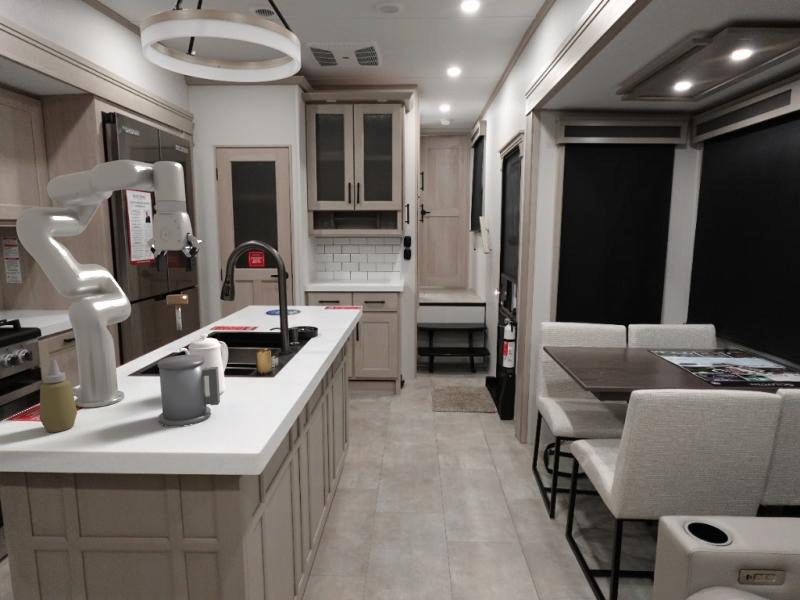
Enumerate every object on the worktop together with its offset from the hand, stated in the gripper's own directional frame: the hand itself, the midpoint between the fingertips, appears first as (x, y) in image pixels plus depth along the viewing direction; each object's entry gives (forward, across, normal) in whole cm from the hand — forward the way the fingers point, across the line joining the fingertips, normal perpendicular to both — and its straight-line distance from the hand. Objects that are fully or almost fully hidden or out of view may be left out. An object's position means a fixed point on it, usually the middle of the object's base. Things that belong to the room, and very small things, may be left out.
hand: (176, 271), depth 138 cm
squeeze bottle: (+39, -21, -22) cm, 50 cm away
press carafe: (+39, +6, -6) cm, 40 cm away
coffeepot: (+39, -3, +12) cm, 41 cm away
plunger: (+15, +5, -6) cm, 17 cm away
